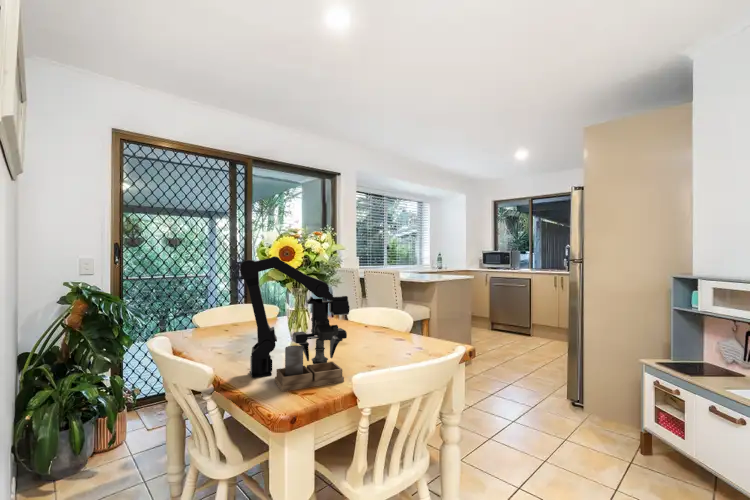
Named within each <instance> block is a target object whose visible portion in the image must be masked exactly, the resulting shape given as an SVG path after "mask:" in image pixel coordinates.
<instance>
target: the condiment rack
mask: <svg viewBox="0 0 750 500" xmlns="http://www.w3.org/2000/svg"><path fill="white" fill-rule="evenodd" d="M284 349H285V350H284V355H285V356H284V365H285V366H284V367H282V368H276V376H274V383H275V384H276V385H277V386H278V388H279V390H280V391H281V392H282V393H283V392H288V391H294V390H300V389H307V388H313V387H319V386H320V387H321V386H326V385H331V384H339V383H344V382H345V377H344V376H343V368H341V367H340V366H339V365H338V364H337V363H335V362H334V361H327V363H319V364H313V363H312V364H307V365H306V366H305V365H304V351H303V346H301V345H299V344H298V345H288V346H286V347H284Z"/></svg>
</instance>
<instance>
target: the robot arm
mask: <svg viewBox="0 0 750 500" xmlns="http://www.w3.org/2000/svg"><path fill="white" fill-rule="evenodd" d="M270 269H275V270H277V271H279V272H280V273H282V274H284V275H285V276H287V277H289V278H290V279H293V280H294V281H296V282H297V283H299V284H300V285H302V286H304V287H305V288H306V289H307V290H308V291H309V292H310V293H311V294H313V295H314V296H315V297H317V298H313V296H310V297H309V298H308V299H307V300H306V303H307V305H311V318H310V320H311V329H310V332H311V333H306V332H304V331H295V332H293V333H292V337H291V340H292V342H294V343H295V344H298V346H303V355H304V356H305V359H306V361H307V362H310V352H309V351H310V350H309V345H310V343H309V342H308V340H314V339H318V338H319V340H320V341H324V342H325V341H329V357H330V358H331V359H333V357H334V354H335V352H336V348H337V346H338V344H339V343H340V342H343V340H344V339H347V337H348V333H347V331H346V330H345V329H343V328H341V327H339V326H338V324H330V319H329V314H332V316H345V315H346V316H348V315H349V314H350V304H349V296H347V295H342V296H334V295H333V294H332V293H331V292H330V286H329V284H328V283H327V282H325V281H323V280H321V279H318V278H315V277H312V276H310V275H307V274H306V273H303V272H302V271H300V270H299V269H297V268H295V267H294V266H292V265H290V264H289V263H287V262H285V261H284V260H282V259H281V258H279V257H278V256H271V257H269V258H265V259H260V260H253V259H246V260H244V261H243V262H242V263H241V264H240V268H239V270H240V271H239V272H240V274H241V276H242V278H243V281H244V282H245V285H246V287H247V289H248V293H249V297H250V302H251V306H252V311H253V315H254V320H255V323H256V330H257V331H256V332H257V333H256V334H257V342H256V344H254V345H253V346H252V348H251V355H250V358H249V359H250V362H249V363H250V370H249V374H250V377H251V378H259V377H266V376H272V374H273V373H272V372H273V359H272V358H271V354H270V353H272V352H273V351H274V350H275V347H276V342H278V338H277V335H276V333H275V326H270V325H269V322H268V318H267V314H266V310H265V304H264V299H263V296H262V291H261V286H260V272H263V271H267V270H270ZM323 298H324V299H325V300H323Z"/></svg>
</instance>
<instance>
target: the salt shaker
mask: <svg viewBox="0 0 750 500" xmlns="http://www.w3.org/2000/svg"><path fill="white" fill-rule="evenodd" d="M315 339H316V340H315V348H314V350H315V356H314V357H312V358H311V361H312V364H319V363H327V362H328V360H329V357H327V356H325V349H326V347H325V341H320V340H319V338H315Z"/></svg>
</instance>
